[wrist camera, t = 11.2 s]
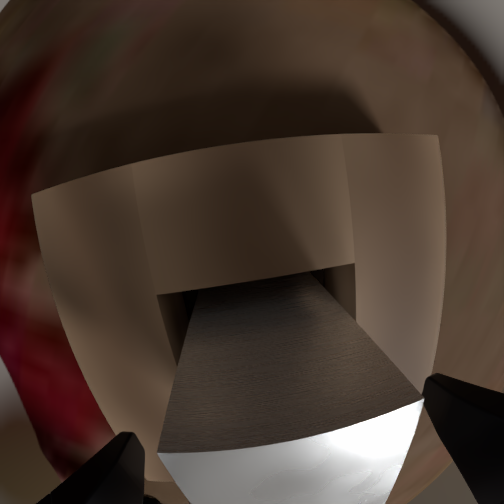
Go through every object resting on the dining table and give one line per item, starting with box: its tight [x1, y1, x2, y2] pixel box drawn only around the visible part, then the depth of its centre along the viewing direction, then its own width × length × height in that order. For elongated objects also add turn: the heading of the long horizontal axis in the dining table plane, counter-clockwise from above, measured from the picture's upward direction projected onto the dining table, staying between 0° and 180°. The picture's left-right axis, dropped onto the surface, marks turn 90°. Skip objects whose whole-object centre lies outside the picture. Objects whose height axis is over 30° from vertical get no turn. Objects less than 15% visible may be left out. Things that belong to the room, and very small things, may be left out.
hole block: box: [31, 133, 446, 482], centre depth 12 cm, size 16×16×4 cm
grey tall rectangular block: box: [157, 271, 425, 504], centre depth 9 cm, size 5×5×10 cm
